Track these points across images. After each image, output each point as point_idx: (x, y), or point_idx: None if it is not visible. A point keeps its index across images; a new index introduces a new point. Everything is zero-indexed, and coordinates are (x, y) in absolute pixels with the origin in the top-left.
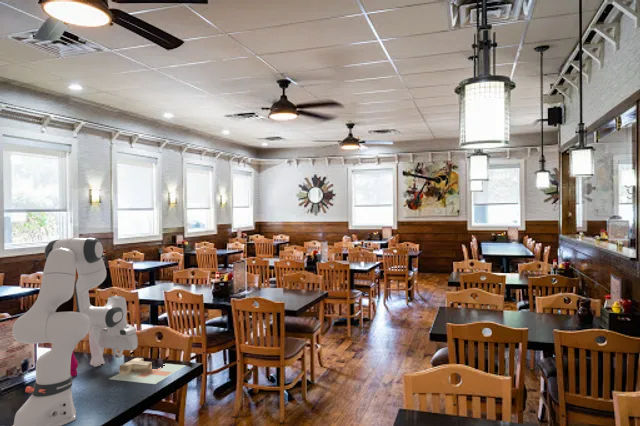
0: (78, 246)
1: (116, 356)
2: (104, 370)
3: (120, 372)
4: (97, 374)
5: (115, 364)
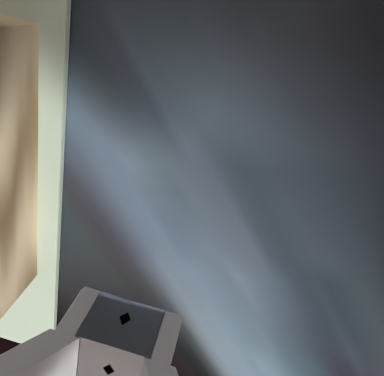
0: None
1: (134, 318)
2: (325, 193)
3: (6, 20)
4: (368, 50)
5: (276, 338)
